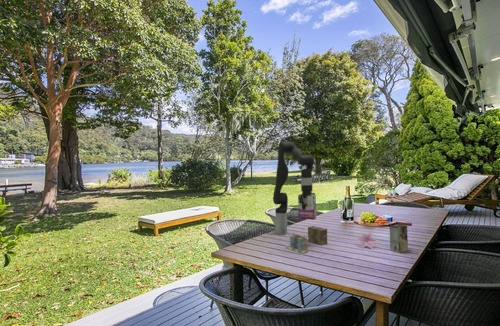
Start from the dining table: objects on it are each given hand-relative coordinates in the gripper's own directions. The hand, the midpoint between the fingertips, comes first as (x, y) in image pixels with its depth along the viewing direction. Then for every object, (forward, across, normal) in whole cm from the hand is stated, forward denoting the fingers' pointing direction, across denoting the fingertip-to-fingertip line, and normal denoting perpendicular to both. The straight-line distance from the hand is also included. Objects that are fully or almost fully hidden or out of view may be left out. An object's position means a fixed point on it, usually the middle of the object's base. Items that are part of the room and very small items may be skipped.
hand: (307, 208), depth 193 cm
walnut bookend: (+25, -10, 0) cm, 27 cm away
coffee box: (+26, -38, +43) cm, 63 cm away
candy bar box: (+7, 0, 0) cm, 7 cm away
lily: (+26, -29, +26) cm, 47 cm away
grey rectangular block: (+26, 0, 0) cm, 26 cm away
